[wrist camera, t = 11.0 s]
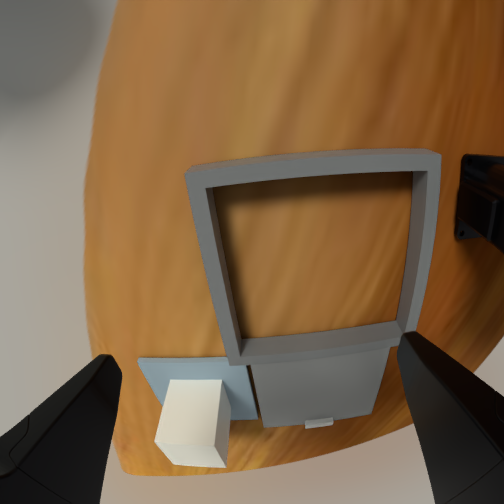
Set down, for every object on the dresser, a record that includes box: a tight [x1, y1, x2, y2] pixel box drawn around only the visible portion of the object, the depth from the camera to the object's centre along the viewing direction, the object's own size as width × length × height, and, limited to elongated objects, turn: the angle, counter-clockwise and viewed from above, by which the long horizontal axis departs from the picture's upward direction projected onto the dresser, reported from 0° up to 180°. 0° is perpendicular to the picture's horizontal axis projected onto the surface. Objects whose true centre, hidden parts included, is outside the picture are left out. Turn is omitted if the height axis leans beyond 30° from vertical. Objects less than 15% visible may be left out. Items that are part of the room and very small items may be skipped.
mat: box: [137, 357, 258, 420], centre depth 27 cm, size 10×10×1 cm
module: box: [154, 380, 231, 468], centre depth 24 cm, size 5×5×7 cm
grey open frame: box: [184, 148, 441, 429], centre depth 22 cm, size 15×27×2 cm, turn 7°
